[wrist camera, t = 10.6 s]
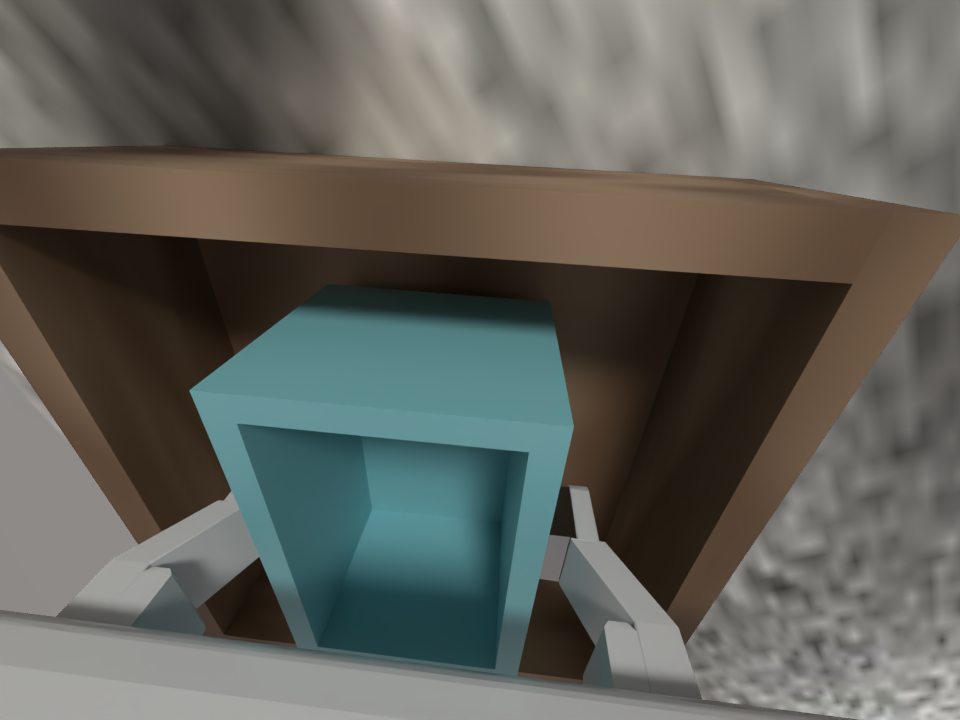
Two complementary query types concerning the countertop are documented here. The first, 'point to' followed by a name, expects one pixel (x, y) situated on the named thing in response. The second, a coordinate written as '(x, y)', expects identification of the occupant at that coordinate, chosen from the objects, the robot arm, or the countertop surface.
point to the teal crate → (398, 469)
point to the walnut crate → (477, 272)
